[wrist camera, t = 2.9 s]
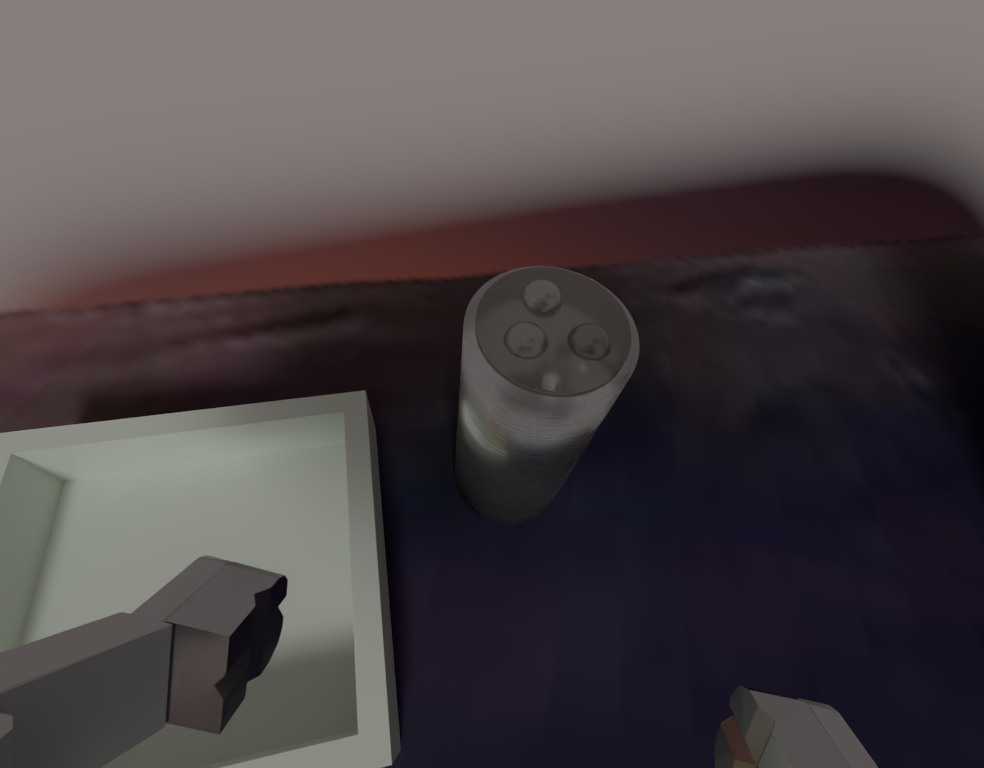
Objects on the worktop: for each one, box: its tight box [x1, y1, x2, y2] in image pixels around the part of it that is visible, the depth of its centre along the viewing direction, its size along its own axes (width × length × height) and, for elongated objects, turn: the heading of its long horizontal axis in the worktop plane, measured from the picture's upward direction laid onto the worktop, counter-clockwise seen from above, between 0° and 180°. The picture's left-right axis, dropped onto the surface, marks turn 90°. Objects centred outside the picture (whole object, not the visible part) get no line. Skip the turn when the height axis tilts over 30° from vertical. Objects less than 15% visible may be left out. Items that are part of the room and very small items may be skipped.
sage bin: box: [0, 390, 401, 768], centre depth 19 cm, size 15×14×4 cm
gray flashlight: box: [454, 266, 639, 525], centre depth 20 cm, size 6×6×13 cm
